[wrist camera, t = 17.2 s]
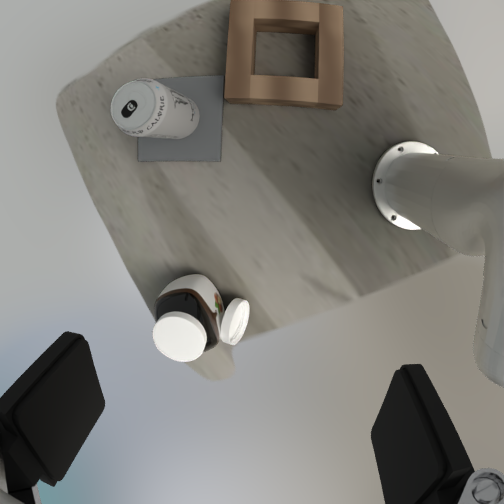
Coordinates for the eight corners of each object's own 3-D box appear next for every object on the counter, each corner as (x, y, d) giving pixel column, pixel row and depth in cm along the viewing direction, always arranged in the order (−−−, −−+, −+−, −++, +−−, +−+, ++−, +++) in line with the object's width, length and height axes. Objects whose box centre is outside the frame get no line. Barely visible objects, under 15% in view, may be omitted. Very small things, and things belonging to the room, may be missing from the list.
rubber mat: (224, 76, 38) (223, 75, 38) (220, 161, 42) (220, 161, 41) (142, 81, 39) (141, 80, 38) (139, 161, 43) (138, 161, 42)
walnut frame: (336, 20, 34) (342, 6, 29) (335, 110, 38) (342, 105, 34) (235, 14, 35) (230, -1, 30) (230, 103, 39) (224, 97, 35)
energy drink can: (210, 117, 39) (174, 100, 25) (179, 148, 41) (131, 149, 27) (181, 88, 38) (134, 63, 24) (151, 119, 40) (94, 110, 26)
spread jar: (164, 277, 48) (134, 312, 37) (231, 255, 46) (216, 289, 35) (195, 340, 51) (176, 385, 40) (259, 324, 49) (254, 371, 38)
